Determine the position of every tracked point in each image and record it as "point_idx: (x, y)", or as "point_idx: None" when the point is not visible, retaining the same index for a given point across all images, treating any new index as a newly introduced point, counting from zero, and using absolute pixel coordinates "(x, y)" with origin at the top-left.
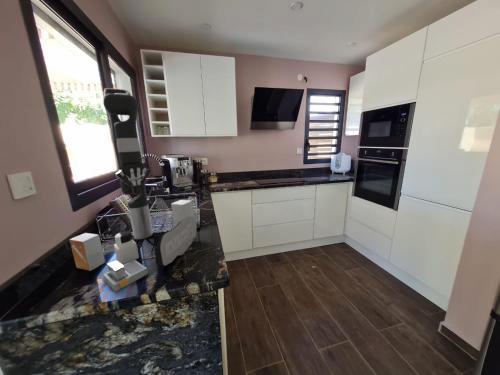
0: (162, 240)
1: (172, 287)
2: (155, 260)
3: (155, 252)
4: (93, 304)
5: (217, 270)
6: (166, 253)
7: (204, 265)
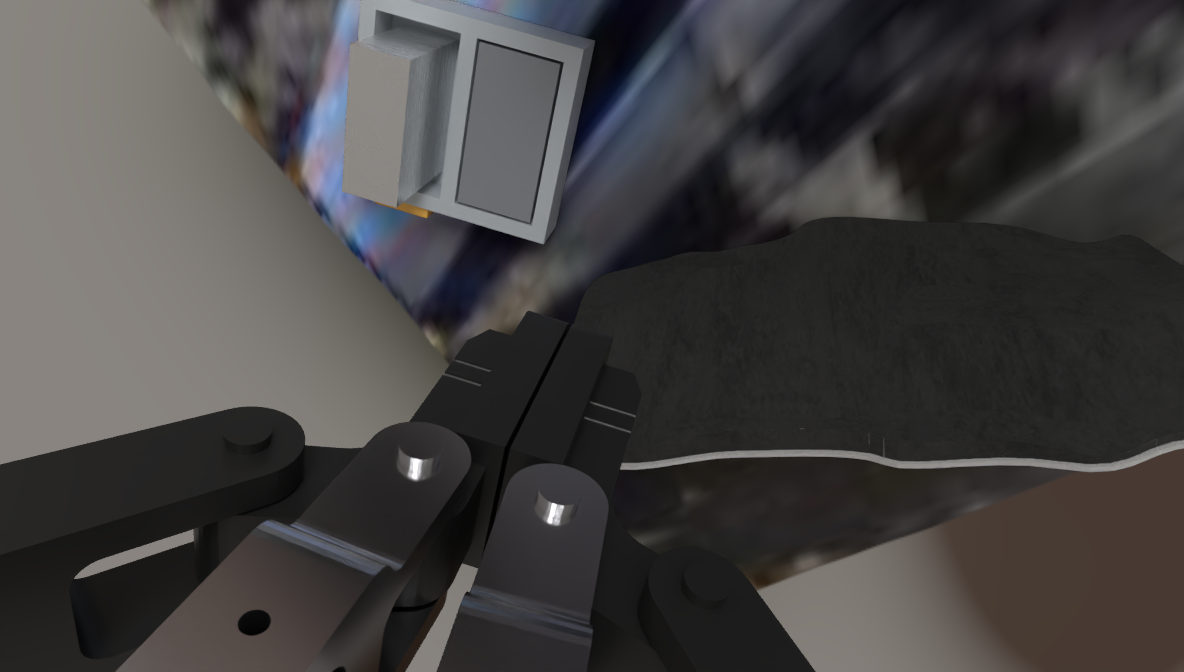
0: None
1: None
2: (582, 300)
3: None
4: (269, 145)
5: None
6: None
7: (747, 499)
